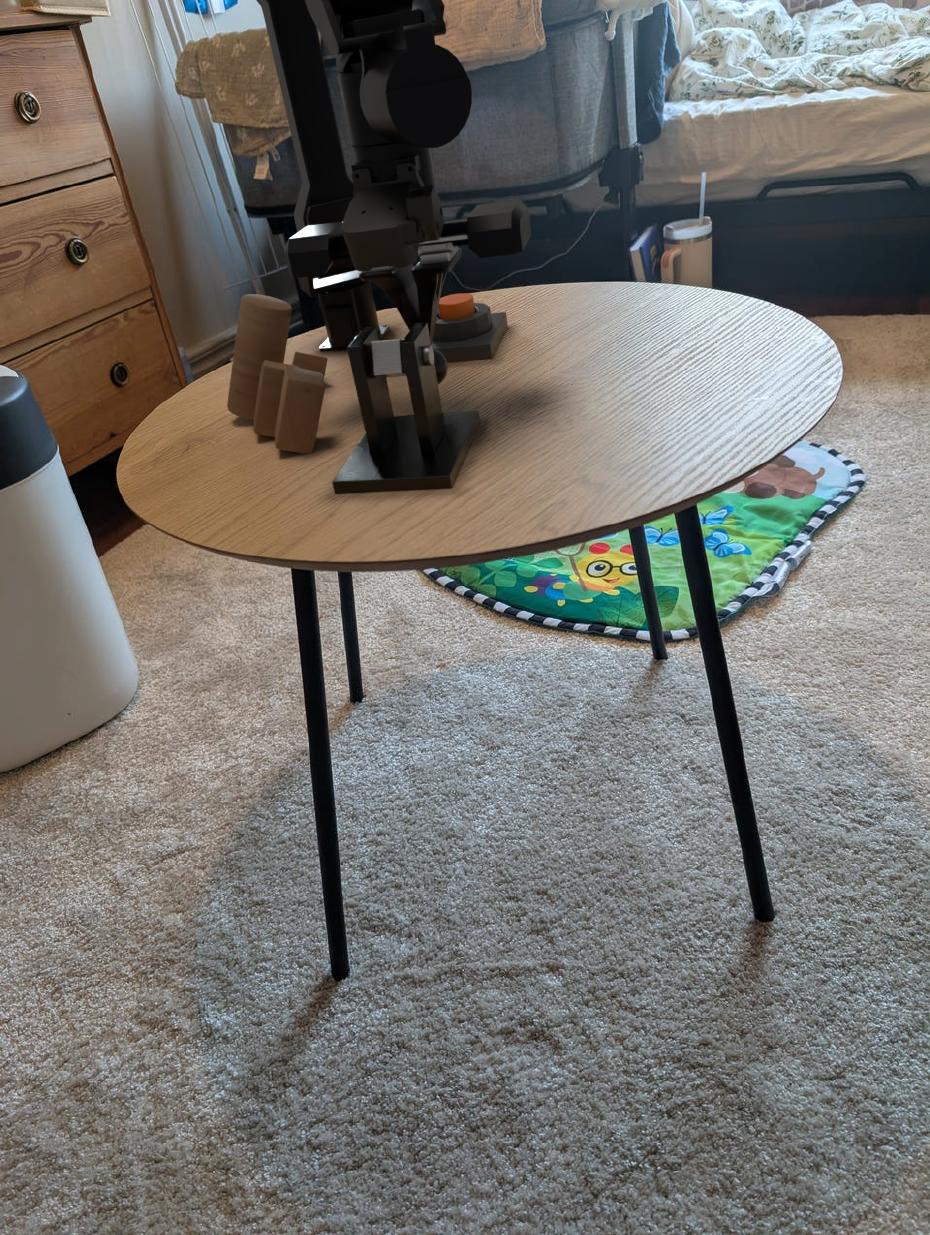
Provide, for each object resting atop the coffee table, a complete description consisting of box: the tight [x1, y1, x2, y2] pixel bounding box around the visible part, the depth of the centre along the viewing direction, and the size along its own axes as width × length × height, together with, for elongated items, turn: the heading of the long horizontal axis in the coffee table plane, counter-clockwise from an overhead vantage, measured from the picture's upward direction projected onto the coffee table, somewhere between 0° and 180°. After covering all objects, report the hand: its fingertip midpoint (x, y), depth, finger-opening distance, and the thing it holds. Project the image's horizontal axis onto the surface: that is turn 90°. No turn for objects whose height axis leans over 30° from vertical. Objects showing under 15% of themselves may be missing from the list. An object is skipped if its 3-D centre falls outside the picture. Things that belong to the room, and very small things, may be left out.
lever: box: [371, 338, 449, 385], centre depth 71 cm, size 13×3×3 cm, turn 169°
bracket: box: [331, 322, 481, 495], centre depth 68 cm, size 12×9×10 cm
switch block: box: [431, 302, 509, 364], centre depth 90 cm, size 10×8×4 cm
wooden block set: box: [226, 293, 328, 455], centre depth 78 cm, size 18×9×10 cm, turn 11°
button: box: [438, 292, 475, 320], centre depth 89 cm, size 4×4×2 cm
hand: (426, 348), depth 75 cm, fingers closed, pressing on lever
